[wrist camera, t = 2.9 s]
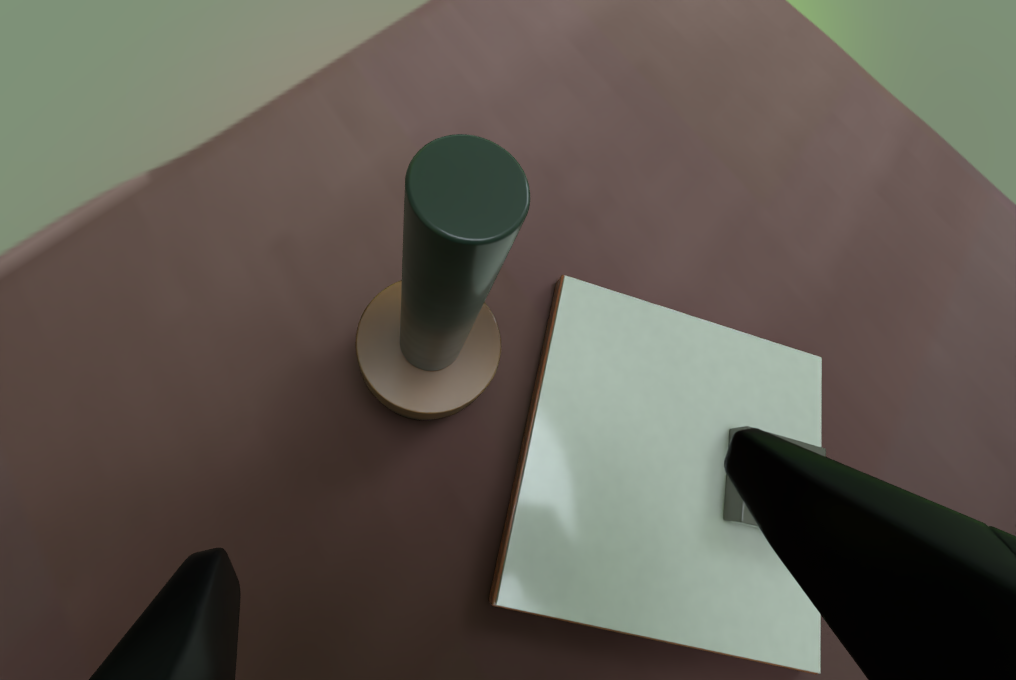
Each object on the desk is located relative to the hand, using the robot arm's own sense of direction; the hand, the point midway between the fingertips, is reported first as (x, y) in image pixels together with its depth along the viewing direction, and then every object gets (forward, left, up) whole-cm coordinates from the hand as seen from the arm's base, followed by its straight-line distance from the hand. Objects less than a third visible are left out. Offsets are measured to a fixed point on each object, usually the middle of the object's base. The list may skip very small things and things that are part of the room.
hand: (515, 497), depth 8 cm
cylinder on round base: (+2, +5, -12) cm, 13 cm away
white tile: (+9, -5, -12) cm, 15 cm away
